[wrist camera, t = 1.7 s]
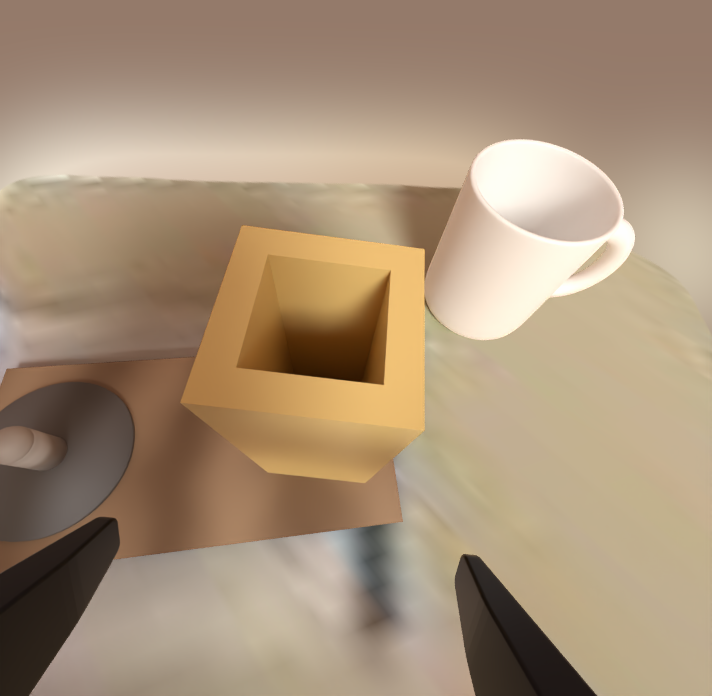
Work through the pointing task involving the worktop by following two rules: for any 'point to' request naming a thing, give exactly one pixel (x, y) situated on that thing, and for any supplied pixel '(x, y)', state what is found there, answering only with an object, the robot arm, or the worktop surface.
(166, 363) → the board
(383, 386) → the sleeve
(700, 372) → the worktop surface
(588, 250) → the mug
